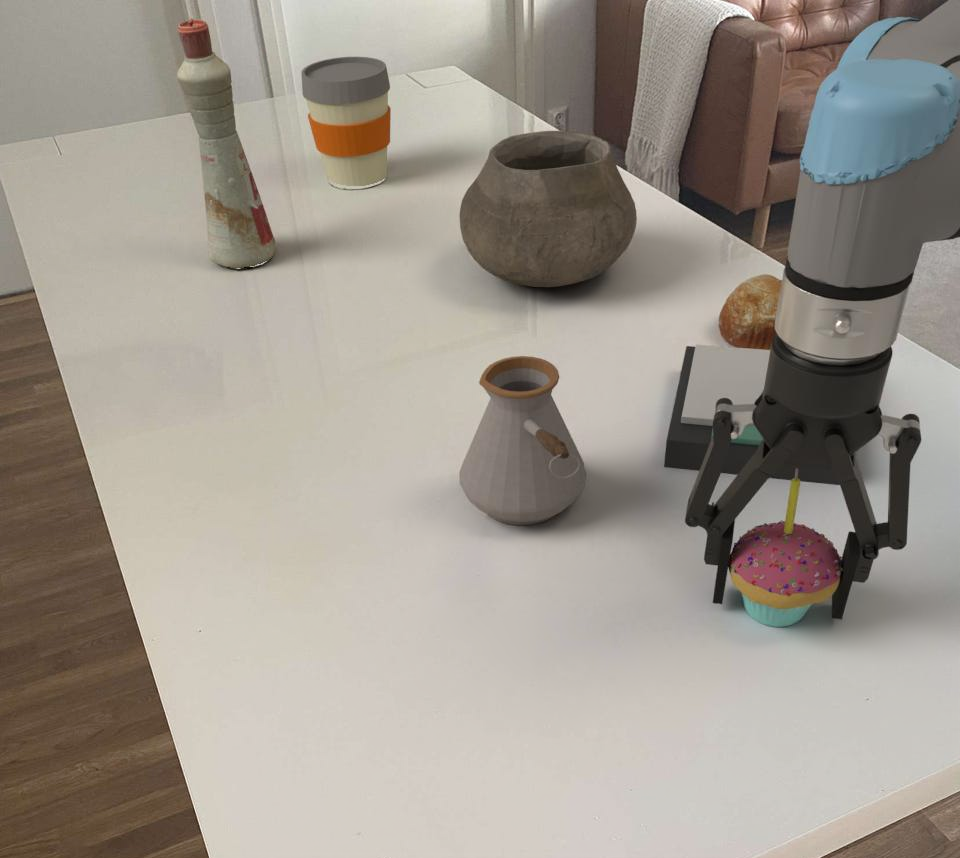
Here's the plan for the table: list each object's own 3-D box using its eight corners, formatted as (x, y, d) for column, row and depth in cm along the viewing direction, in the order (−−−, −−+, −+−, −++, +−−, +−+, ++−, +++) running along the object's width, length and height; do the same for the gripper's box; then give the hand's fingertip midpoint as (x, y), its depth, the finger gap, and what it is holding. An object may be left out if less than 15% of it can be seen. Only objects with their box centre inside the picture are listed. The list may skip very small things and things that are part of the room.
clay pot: (437, 259, 131) (428, 137, 120) (584, 226, 136) (587, 106, 126) (506, 330, 116) (502, 198, 106) (667, 290, 122) (678, 160, 111)
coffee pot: (451, 473, 96) (440, 327, 86) (568, 456, 98) (571, 310, 87) (494, 622, 81) (486, 468, 71) (631, 600, 82) (644, 445, 72)
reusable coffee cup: (415, 176, 152) (406, 66, 142) (350, 201, 146) (335, 88, 136) (364, 157, 159) (351, 51, 148) (299, 180, 153) (281, 71, 143)
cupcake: (715, 573, 84) (734, 452, 76) (819, 572, 84) (849, 450, 75) (729, 645, 78) (751, 523, 70) (841, 644, 78) (876, 521, 69)
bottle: (198, 257, 135) (139, 18, 115) (259, 238, 138) (211, 2, 119) (228, 279, 130) (171, 32, 110) (289, 258, 133) (245, 15, 114)
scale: (839, 384, 105) (846, 350, 102) (839, 484, 92) (848, 449, 90) (683, 371, 108) (687, 338, 105) (663, 466, 96) (667, 432, 93)
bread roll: (739, 336, 120) (718, 274, 116) (827, 312, 114) (807, 246, 110) (722, 377, 113) (699, 313, 109) (814, 354, 108) (793, 285, 104)
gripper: (659, 354, 64) (637, 613, 80) (1019, 382, 60) (920, 651, 76) (672, 300, 69) (649, 554, 85) (1004, 322, 65) (915, 586, 81)
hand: (777, 599), depth 80 cm, fingers closed on cupcake, 8 cm apart
